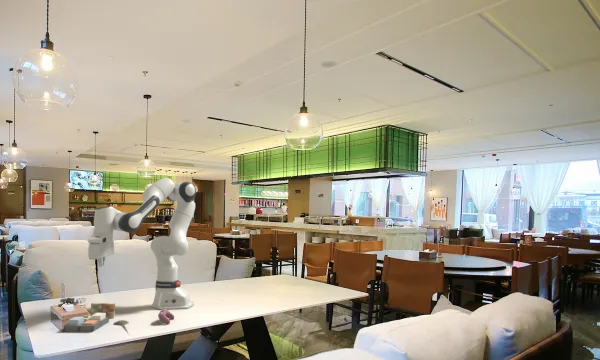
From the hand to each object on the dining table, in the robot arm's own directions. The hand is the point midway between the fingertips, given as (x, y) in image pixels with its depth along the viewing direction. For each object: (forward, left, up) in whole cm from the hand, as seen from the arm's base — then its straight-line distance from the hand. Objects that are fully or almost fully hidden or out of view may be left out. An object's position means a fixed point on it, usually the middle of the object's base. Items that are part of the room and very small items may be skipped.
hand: (101, 266), depth 182 cm
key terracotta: (-7, +21, -24) cm, 33 cm away
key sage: (-1, +14, -24) cm, 28 cm away
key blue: (-1, +21, -23) cm, 31 cm away
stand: (-4, +4, -25) cm, 26 cm away
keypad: (-4, +18, -25) cm, 31 cm away
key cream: (-7, +14, -22) cm, 27 cm away
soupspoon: (-20, +17, -26) cm, 37 cm away
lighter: (+13, +3, -25) cm, 29 cm away
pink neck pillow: (-35, +5, -25) cm, 43 cm away
